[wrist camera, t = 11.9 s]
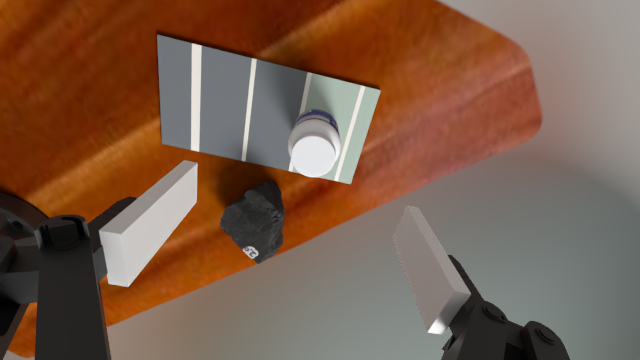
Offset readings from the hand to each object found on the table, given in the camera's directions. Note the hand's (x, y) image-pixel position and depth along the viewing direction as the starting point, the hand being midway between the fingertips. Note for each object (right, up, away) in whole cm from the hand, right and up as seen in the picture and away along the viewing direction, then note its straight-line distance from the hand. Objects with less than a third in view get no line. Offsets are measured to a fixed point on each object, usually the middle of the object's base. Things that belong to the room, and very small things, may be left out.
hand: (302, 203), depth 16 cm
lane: (-5, +9, +14) cm, 18 cm away
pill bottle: (+1, +8, +15) cm, 17 cm away
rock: (-8, -3, +21) cm, 22 cm away
